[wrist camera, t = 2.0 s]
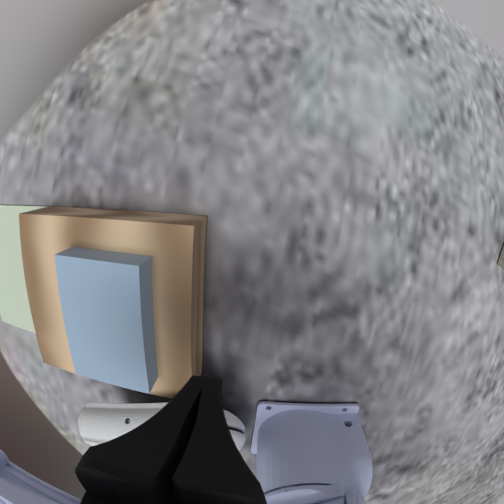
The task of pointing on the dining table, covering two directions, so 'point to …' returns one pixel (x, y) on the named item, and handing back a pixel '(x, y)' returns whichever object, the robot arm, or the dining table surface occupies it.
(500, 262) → the skincare box
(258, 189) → the dining table surface
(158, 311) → the light brown flat block
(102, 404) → the photo printer
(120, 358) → the blue box
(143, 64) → the dining table surface
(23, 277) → the mat
